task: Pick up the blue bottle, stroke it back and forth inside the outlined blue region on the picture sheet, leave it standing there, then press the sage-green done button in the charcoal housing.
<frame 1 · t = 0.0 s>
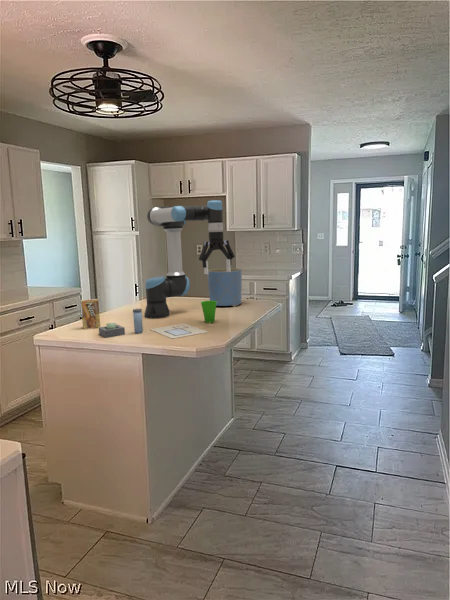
hand: (217, 272, 237), 28 cm above the countertop, fingers open, 13 cm apart
button housing: (112, 334, 232), on the countertop
planter: (225, 305, 305), on the countertop
candy box: (91, 328, 250), on the countertop
blue bottle: (138, 332, 233), on the countertop
cup: (209, 321, 253), on the countertop
done button: (111, 327, 231), point 3 cm above the countertop, slide at 0.0 cm
picture sheet: (178, 331, 233), on the countertop
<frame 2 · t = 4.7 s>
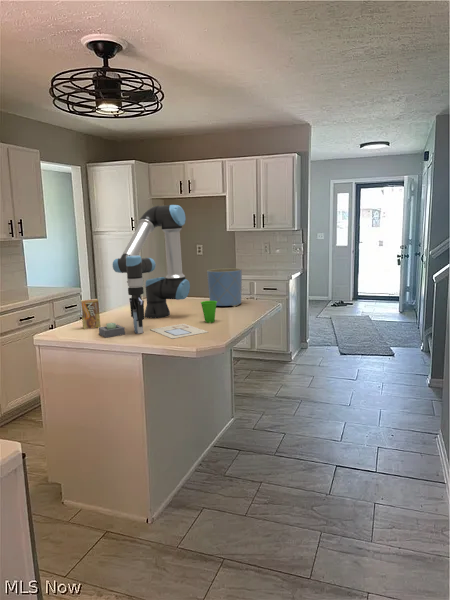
hand: (138, 332, 233), 0 cm above the countertop, fingers closed on blue bottle, 4 cm apart
blue bottle: (138, 332, 233), on the countertop, touching gripper
everything else where it was.
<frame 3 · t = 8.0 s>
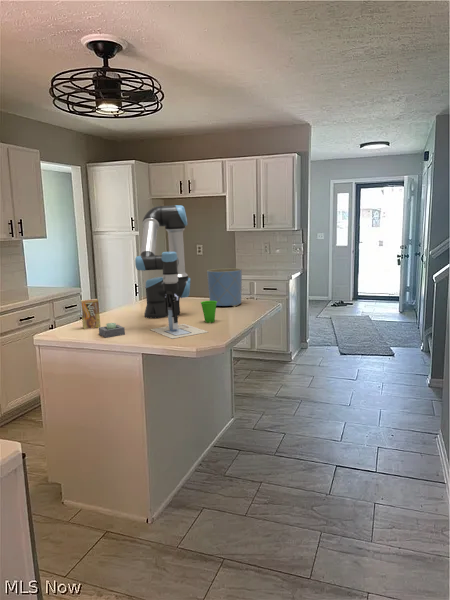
hand: (173, 328, 232), 2 cm above the countertop, fingers closed on blue bottle, 4 cm apart
blue bottle: (173, 330, 233), resting on picture sheet, touching gripper
everything else where it was.
when the fingers open (1 cm above the countertop, at t = 11.7 s): blue bottle stays where it is, resting on picture sheet.
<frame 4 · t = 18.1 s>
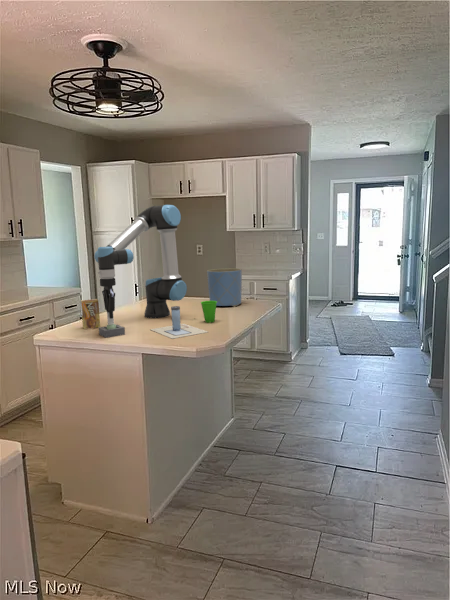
hand: (111, 324, 231), 5 cm above the countertop, fingers closed
blue bottle: (176, 330, 233), resting on picture sheet
done button: (111, 328, 231), point 3 cm above the countertop, slide at -0.6 cm, touching gripper
everything else where it was.
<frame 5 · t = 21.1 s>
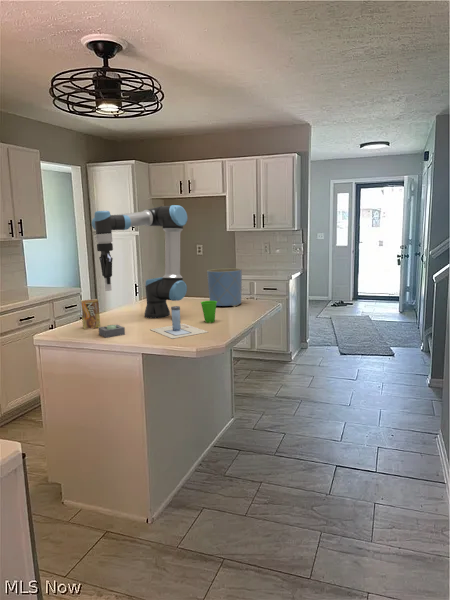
hand: (108, 290, 228), 22 cm above the countertop, fingers closed
done button: (111, 329, 231), point 2 cm above the countertop, slide at -1.1 cm
everything else where it was.
at the end: blue bottle inside the target area (4.2 cm from its centre), resting on picture sheet; blue bottle tilted 0°; done button slide at -1.1 cm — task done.
